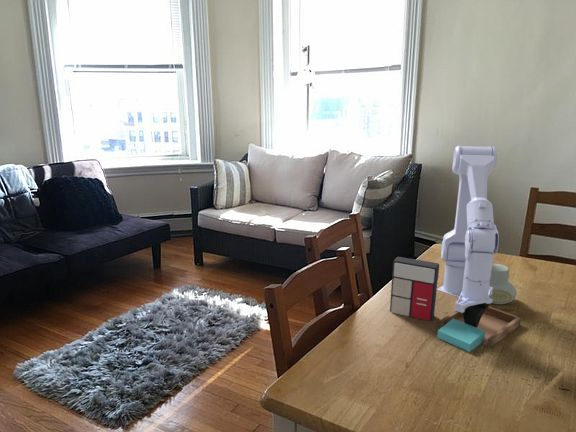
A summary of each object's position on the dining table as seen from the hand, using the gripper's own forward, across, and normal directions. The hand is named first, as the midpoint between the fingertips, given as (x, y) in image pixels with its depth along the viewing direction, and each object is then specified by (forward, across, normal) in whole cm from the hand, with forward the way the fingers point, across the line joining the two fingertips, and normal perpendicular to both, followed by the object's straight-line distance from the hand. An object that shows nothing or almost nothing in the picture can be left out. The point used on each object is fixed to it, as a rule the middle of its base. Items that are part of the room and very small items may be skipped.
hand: (470, 329), depth 108 cm
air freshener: (+2, +23, +5) cm, 24 cm away
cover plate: (+1, -4, 0) cm, 5 cm away
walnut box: (+1, +5, 0) cm, 5 cm away
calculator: (+2, -2, +15) cm, 15 cm away
